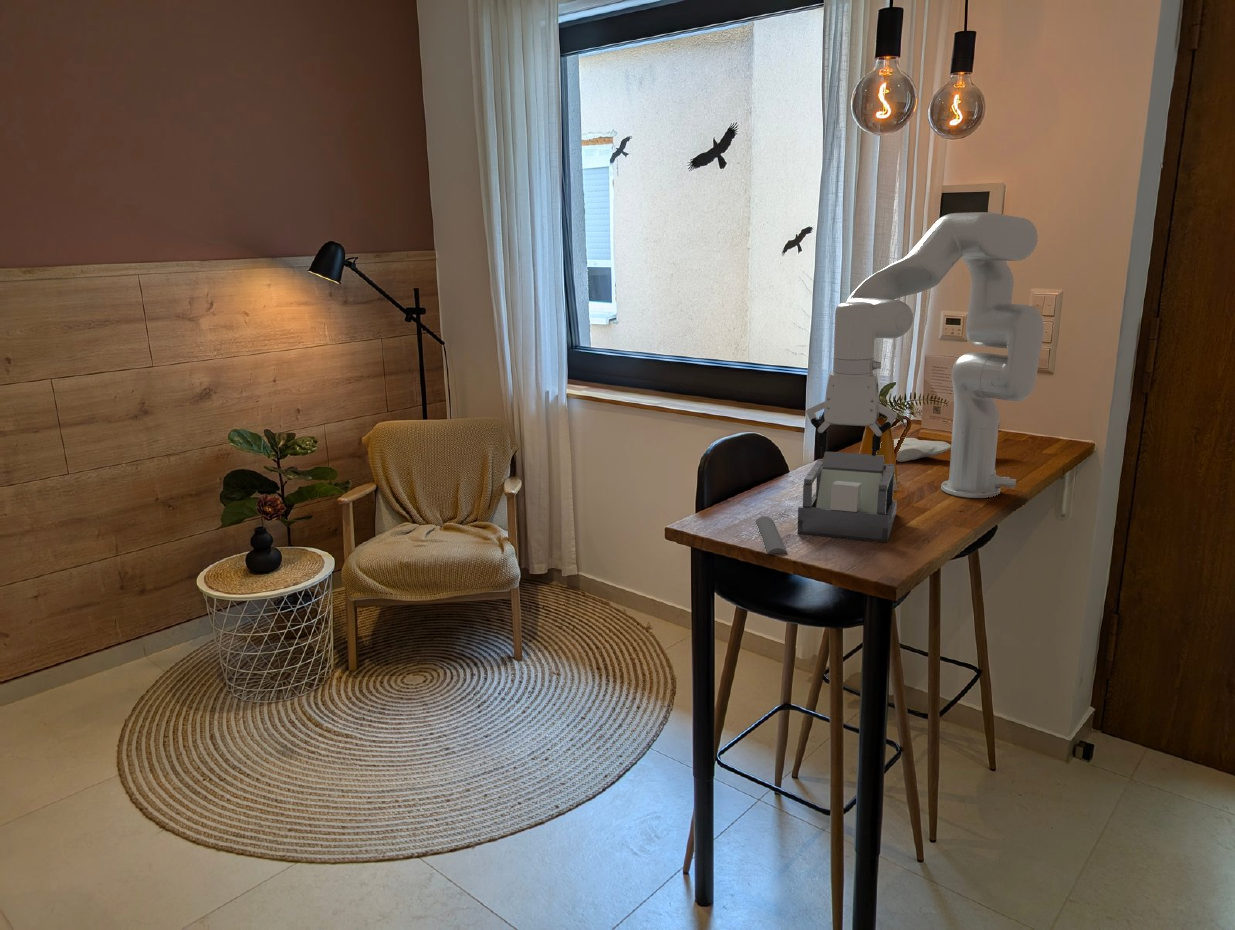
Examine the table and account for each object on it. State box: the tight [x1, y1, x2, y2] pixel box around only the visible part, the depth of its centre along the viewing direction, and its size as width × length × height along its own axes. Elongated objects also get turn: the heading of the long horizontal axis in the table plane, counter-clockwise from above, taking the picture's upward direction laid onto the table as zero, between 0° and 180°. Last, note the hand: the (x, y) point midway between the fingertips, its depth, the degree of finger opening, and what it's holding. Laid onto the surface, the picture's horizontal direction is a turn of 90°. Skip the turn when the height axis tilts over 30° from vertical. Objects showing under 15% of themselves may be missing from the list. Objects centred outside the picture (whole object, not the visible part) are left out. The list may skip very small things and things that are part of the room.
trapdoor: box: [816, 451, 886, 513], centre depth 182 cm, size 12×13×2 cm
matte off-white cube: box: [830, 481, 862, 512], centre depth 176 cm, size 5×5×6 cm
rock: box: [893, 437, 951, 463], centre depth 233 cm, size 21×5×15 cm
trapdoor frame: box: [797, 458, 898, 543], centre depth 182 cm, size 17×19×11 cm
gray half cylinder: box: [754, 515, 788, 555], centre depth 176 cm, size 4×20×2 cm, turn 178°
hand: (849, 452), depth 176 cm, fingers open, 9 cm apart
